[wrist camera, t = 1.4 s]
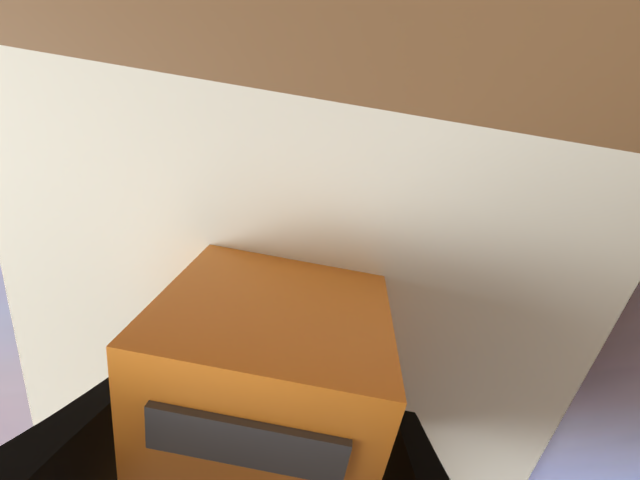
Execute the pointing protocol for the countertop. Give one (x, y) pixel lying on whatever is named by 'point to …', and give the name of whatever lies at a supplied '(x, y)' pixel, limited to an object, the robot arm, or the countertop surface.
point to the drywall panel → (334, 184)
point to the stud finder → (258, 374)
